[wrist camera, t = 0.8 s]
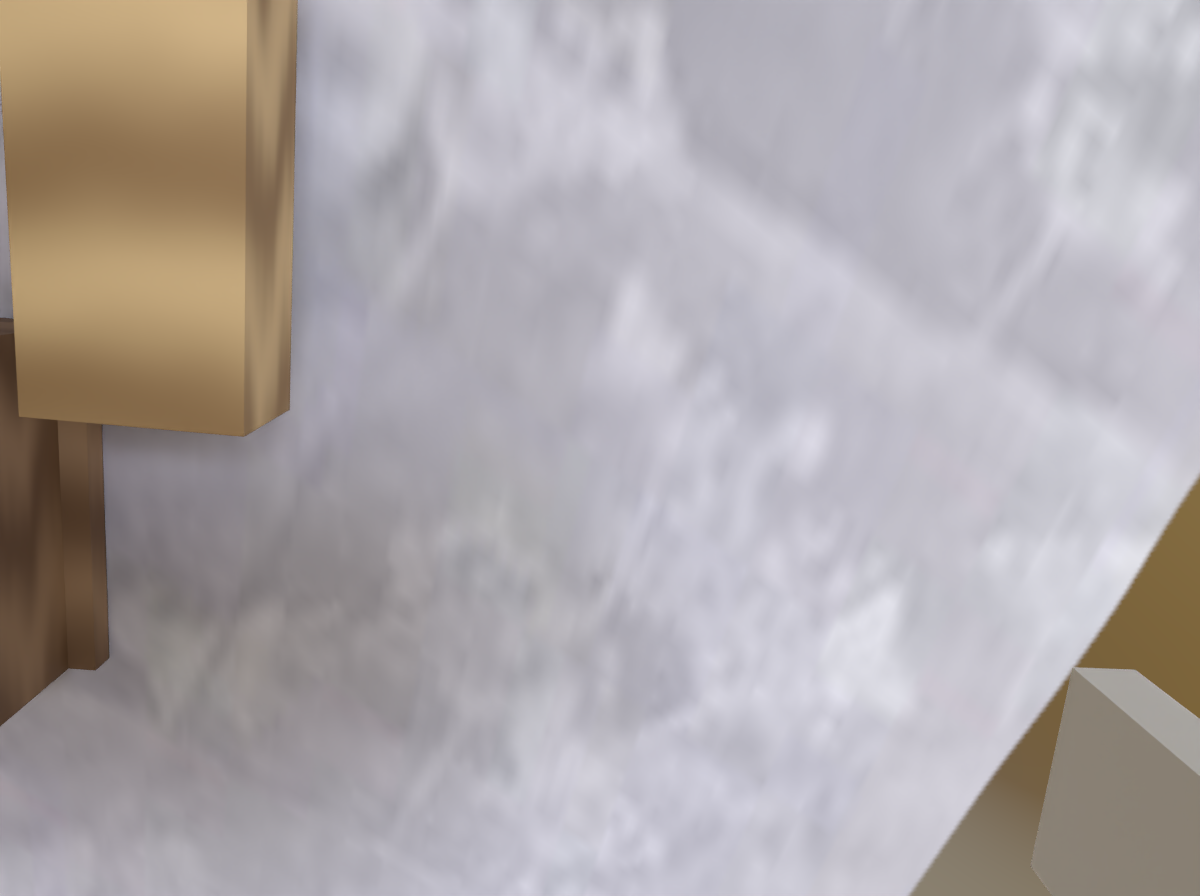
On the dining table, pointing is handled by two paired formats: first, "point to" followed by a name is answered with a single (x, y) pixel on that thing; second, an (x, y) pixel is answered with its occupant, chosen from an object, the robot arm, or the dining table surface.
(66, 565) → the peg frame
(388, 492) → the dining table surface
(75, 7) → the plank
